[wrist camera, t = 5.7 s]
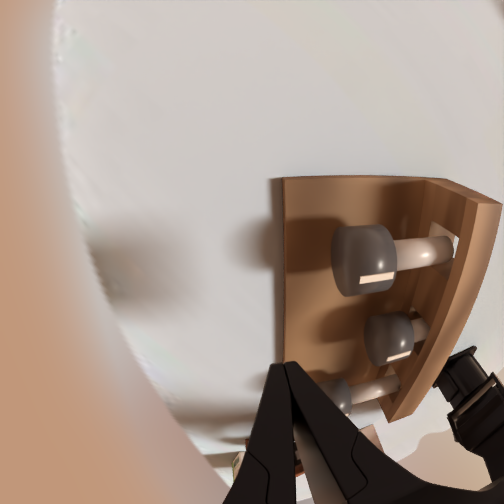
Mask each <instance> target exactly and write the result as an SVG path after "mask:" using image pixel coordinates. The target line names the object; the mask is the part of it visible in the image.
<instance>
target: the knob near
mask: <svg viewBox="0 0 504 504" xmlns="http://www.w3.org/2000/svg"><path fill="white" fill-rule="evenodd" d="M453 253H454V248H453V243H452V241H451V239H450V238H449V237H448V236H434V237H424V238H414V239H403V240H393V238H392V236H391V234H390V232H389V231H388V230H387V228H385V227H384V226H383V225H380V224H373V225H359V226H345V227H338V228H337V229H336V230H335V232H334V234H333V237H332V242H331V265H332V272H333V276H334V280H335V283H336V286H337V288H338V290H339V292H340V293H341V294H342V295H343V296H344V297H350V296H357V295H363V294H369V293H375V292H380V291H385V290H388V289H389V288H390V287H391V286H392V284H393V282H394V280H395V277H396V272H397V271H400V270H407V269H413V268H419V267H425V266H431V265H436V264H442V263H448V262H449V261H450V260H451V259H452V257H453Z"/></svg>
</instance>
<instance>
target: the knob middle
mask: <svg viewBox="0 0 504 504" xmlns="http://www.w3.org/2000/svg"><path fill="white" fill-rule="evenodd" d="M430 329H431V328H430V327H429V326H428V324H427V323H426V322H425V321H424V319H423V318H418V319H415V320H411V321H410V319H409V317H408V316H407V315H406V314H405V313H404V312H403V311H394V312H390V313H385V314H381V315H376V316H371V317H369V318H368V319H367V321H366V323H365V327H364V344H365V349H366V353H367V356H368V358H369V360H370V361H371V363H372V364H373V365H375V366H377V367H378V366H382V365H386V364H389V363H392V362H396V361H399V360H402V359H405V358H408V357H409V356H410V354H411V353H412V351H413V347H414V343H415V342H418V341H421V340H424V339H426V338H427V336H428V334H429V331H430Z"/></svg>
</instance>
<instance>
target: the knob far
mask: <svg viewBox="0 0 504 504" xmlns="http://www.w3.org/2000/svg"><path fill="white" fill-rule="evenodd" d="M316 384H317V385H318V386H319V387H320V388H321V389H322V390H323V391H324V393H325V394H326V395H327V396H328V397H329V398H330V399H331V400H332V401H333V402H334V403H335V405H336V406H337V407H338V408H339V409H340V410H341V411H342V412H343V413H344V414H345V415H346V416H347V417H348V416H349V415H350V413H351V408H352V405H353V404H357V403H361V402H364V401H368V400H371V399H375V398H378V397H381V396H384V395H387V394H390V393H393V392H396V391H399V389H400V387H401V382H400V380H399V378H398V376H397V375H396V374H392V375H389V376H386V377H383V378H379V379H376V380H372V381H369V382H365V383H361V384H357V385H353V386H349V387H348V384H347V382H346V381H345V379H344V378H338V379H333V380H328V381H323V382H318V383H316Z"/></svg>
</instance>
